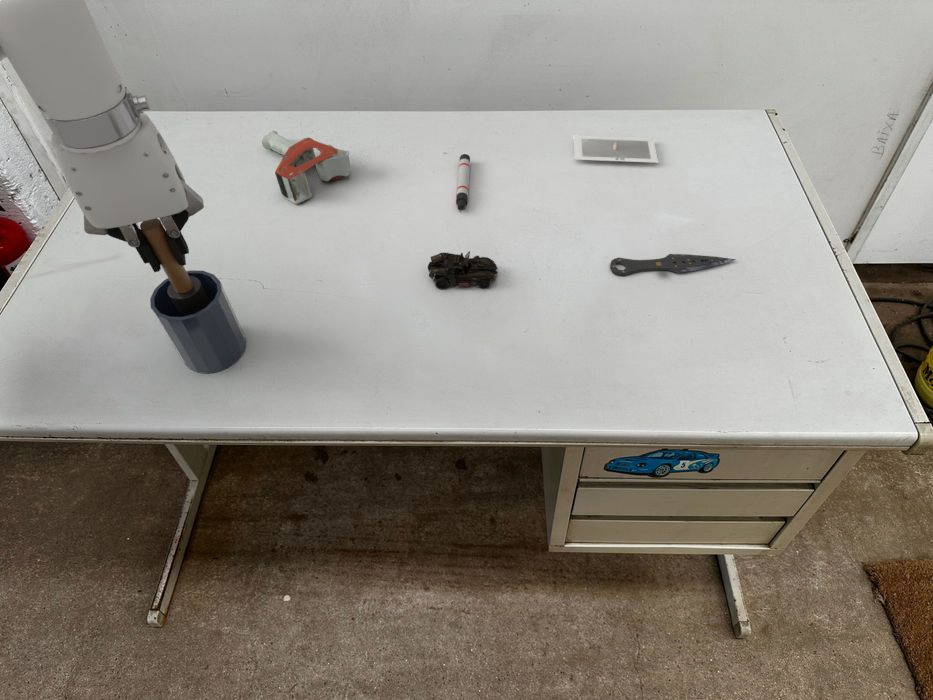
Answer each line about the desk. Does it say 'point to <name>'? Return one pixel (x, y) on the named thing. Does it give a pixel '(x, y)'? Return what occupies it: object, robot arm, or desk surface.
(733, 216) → the desk surface
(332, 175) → the tape dispenser
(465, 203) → the marker
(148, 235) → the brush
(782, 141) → the desk surface
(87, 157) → the robot arm
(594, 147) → the touchpad
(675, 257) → the throwing knife
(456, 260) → the toy car
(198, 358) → the pen cup
